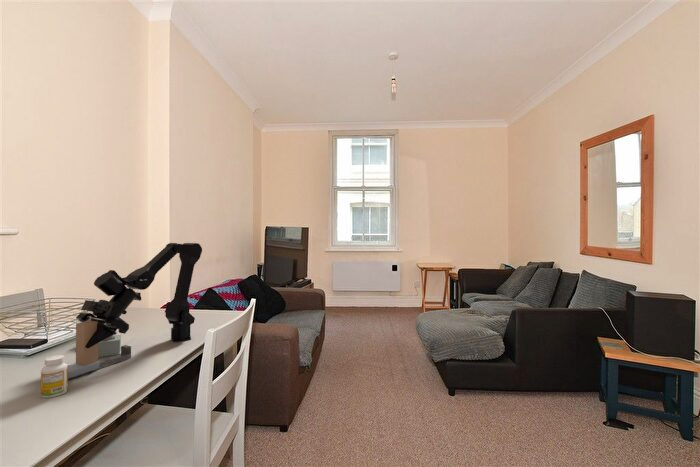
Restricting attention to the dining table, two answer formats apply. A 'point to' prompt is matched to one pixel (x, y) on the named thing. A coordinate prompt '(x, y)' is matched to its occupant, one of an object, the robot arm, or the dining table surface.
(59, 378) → the supplement bottle
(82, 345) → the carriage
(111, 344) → the gauge cabinet
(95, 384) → the dining table surface
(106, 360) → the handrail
